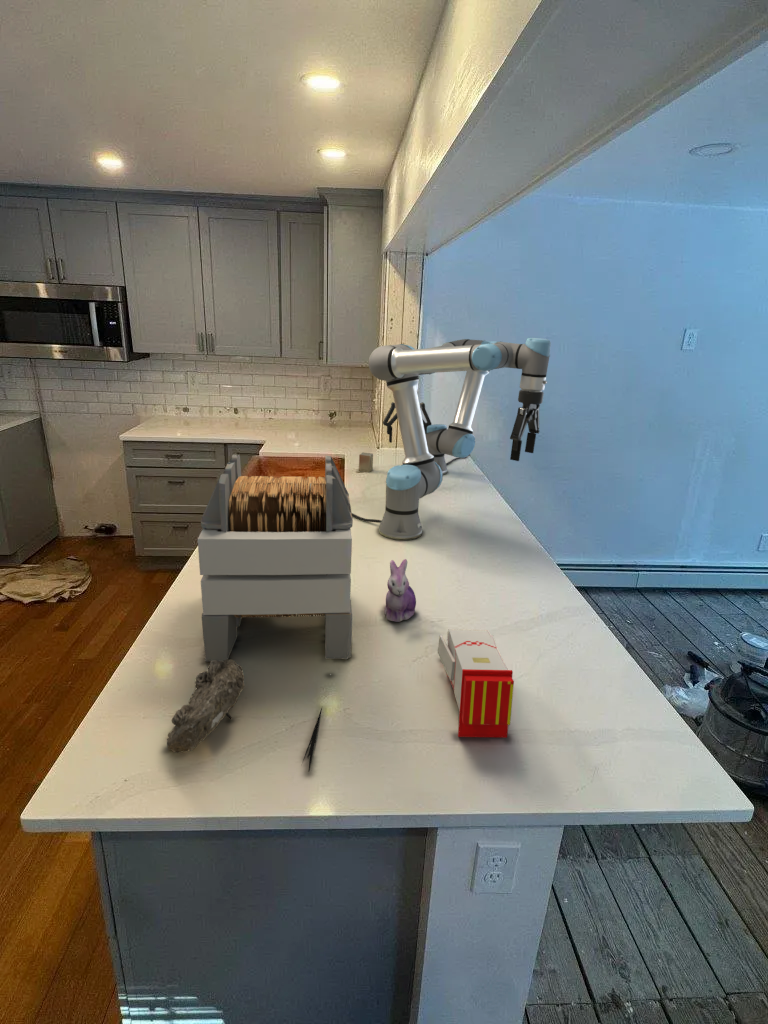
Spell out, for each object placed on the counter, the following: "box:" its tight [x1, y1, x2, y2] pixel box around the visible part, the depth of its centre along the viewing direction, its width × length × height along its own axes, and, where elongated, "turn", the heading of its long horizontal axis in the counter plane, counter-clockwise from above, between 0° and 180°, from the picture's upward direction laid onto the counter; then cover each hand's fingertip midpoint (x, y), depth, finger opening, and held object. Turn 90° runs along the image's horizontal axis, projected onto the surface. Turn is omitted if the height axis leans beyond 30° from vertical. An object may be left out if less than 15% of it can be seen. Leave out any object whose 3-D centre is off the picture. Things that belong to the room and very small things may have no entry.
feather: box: [301, 673, 332, 771], centre depth 108 cm, size 2×28×2 cm
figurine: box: [384, 558, 417, 623], centre depth 145 cm, size 9×10×15 cm
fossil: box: [166, 658, 245, 754], centre depth 106 cm, size 22×10×15 cm
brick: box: [358, 452, 374, 473], centre depth 275 cm, size 5×5×8 cm
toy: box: [437, 628, 515, 738], centre depth 117 cm, size 12×13×30 cm
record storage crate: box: [197, 454, 354, 663], centre depth 134 cm, size 34×33×41 cm
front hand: (522, 456), depth 184 cm, fingers open, 13 cm apart
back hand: (406, 441), depth 238 cm, fingers open, 13 cm apart
